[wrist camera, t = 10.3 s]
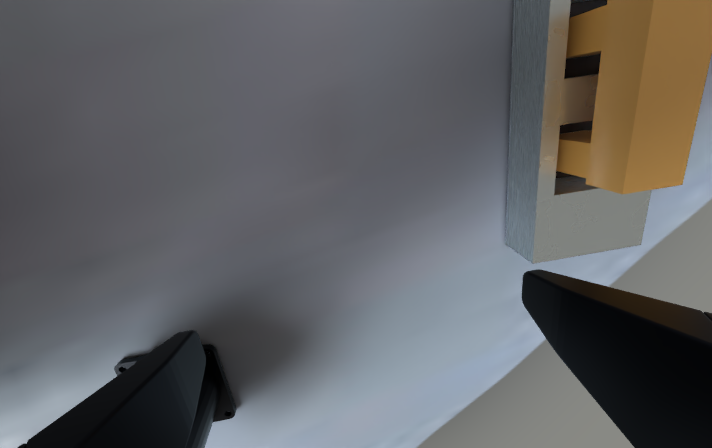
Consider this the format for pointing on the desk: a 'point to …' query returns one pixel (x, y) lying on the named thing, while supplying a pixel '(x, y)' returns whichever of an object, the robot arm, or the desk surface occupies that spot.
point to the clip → (639, 92)
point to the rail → (556, 149)
